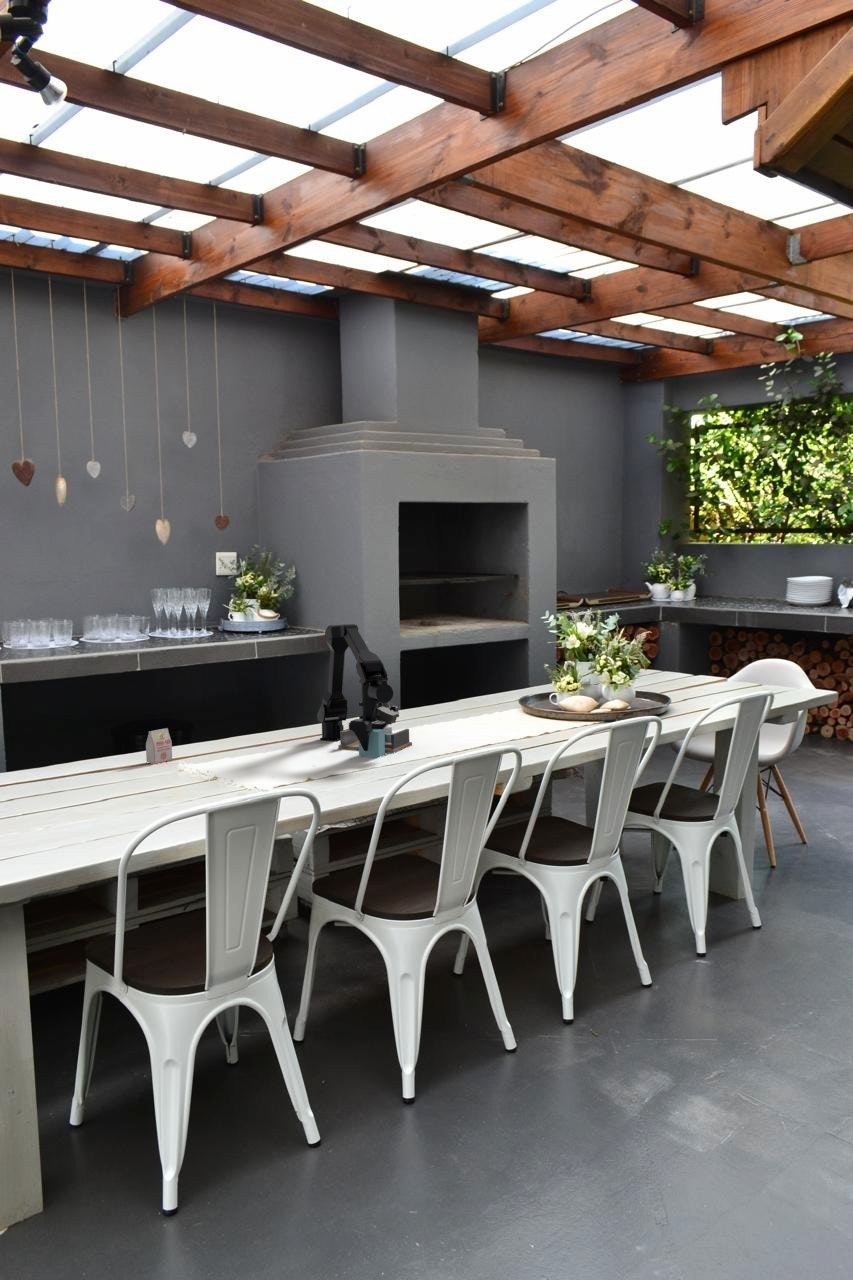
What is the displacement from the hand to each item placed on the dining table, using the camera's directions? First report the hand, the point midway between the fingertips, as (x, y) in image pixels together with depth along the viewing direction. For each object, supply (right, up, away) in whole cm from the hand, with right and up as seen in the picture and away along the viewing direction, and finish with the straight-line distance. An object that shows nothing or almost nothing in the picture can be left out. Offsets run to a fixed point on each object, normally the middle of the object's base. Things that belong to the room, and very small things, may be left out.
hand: (371, 748), depth 314 cm
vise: (0, -1, +13) cm, 13 cm away
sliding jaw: (+5, 0, +11) cm, 12 cm away
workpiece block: (0, -2, 0) cm, 2 cm away
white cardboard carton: (-65, -4, -4) cm, 65 cm away
